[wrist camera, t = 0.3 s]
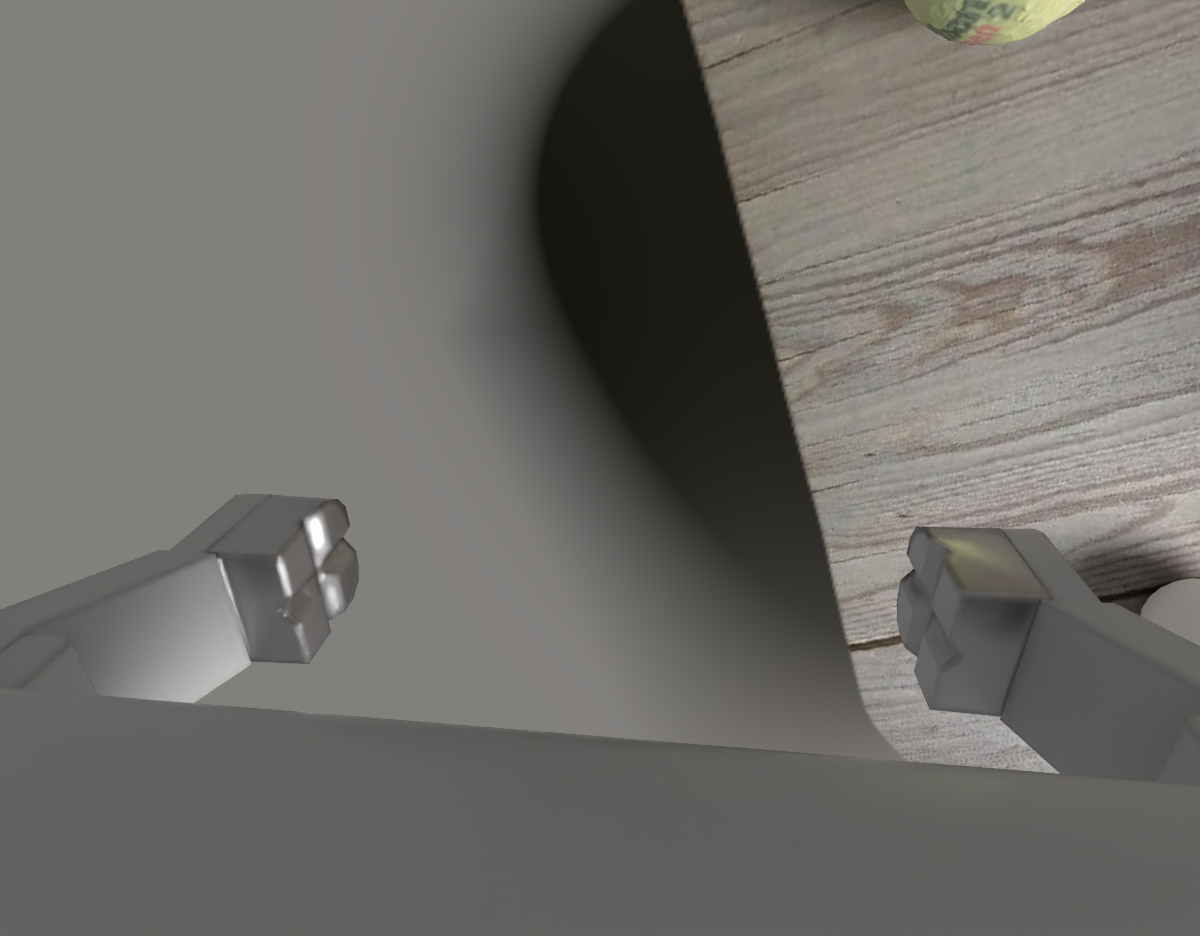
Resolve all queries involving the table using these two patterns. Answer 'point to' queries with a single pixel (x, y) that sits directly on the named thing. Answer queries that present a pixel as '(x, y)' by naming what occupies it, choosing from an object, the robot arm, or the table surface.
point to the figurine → (1176, 608)
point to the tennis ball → (988, 18)
